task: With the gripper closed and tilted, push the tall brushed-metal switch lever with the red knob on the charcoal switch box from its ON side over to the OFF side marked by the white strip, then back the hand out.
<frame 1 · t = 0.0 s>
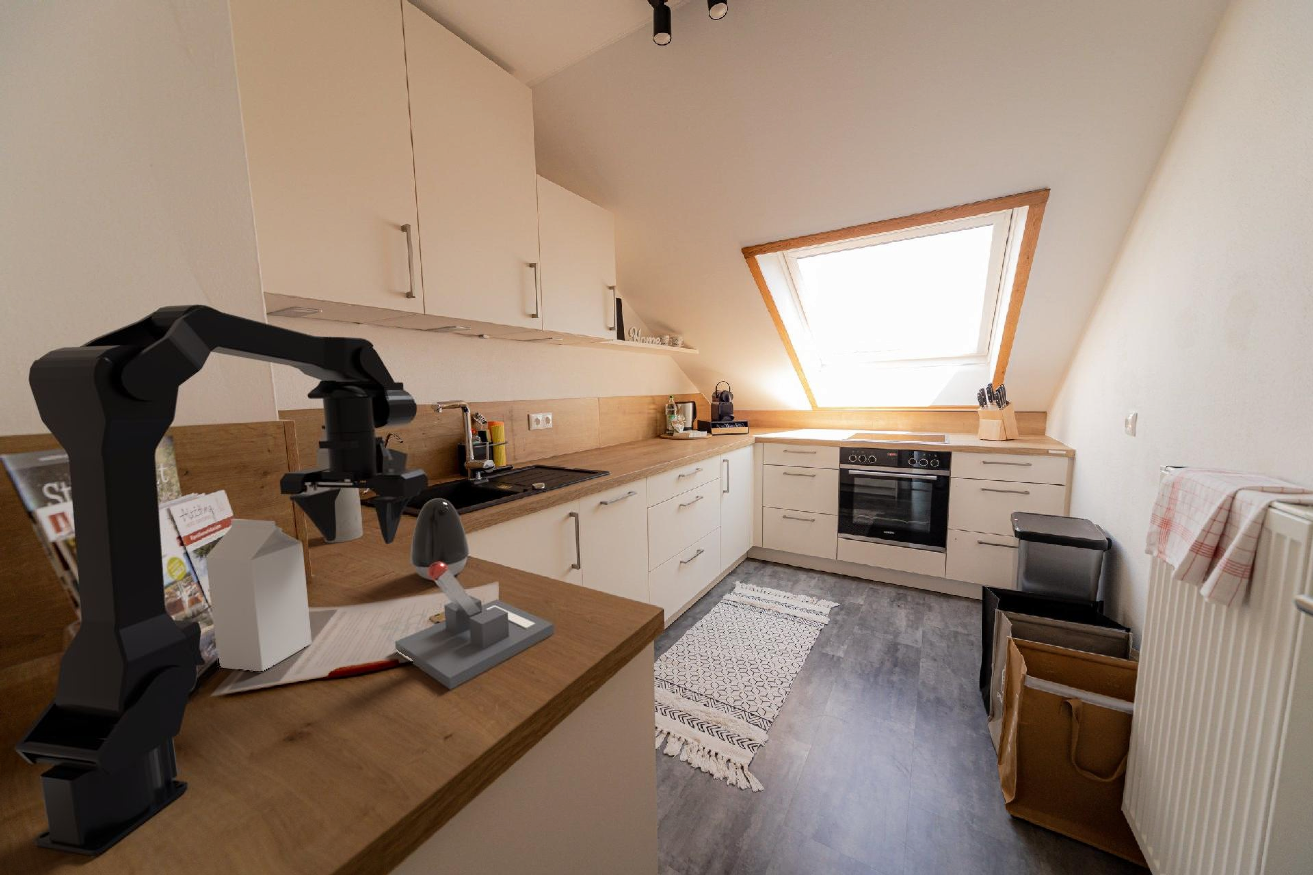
hand: (360, 541, 67), 15 cm above the table, tool pointing down, fingers open, 9 cm apart
switch box: (477, 642, 67), on the table
grey egg shaped device: (442, 576, 92), on the table
thermos bottle: (343, 538, 117), on the table
switch lever: (455, 592, 64), point 8 cm above the table, hinge at -30.0°
milk carton: (267, 657, 65), on the table
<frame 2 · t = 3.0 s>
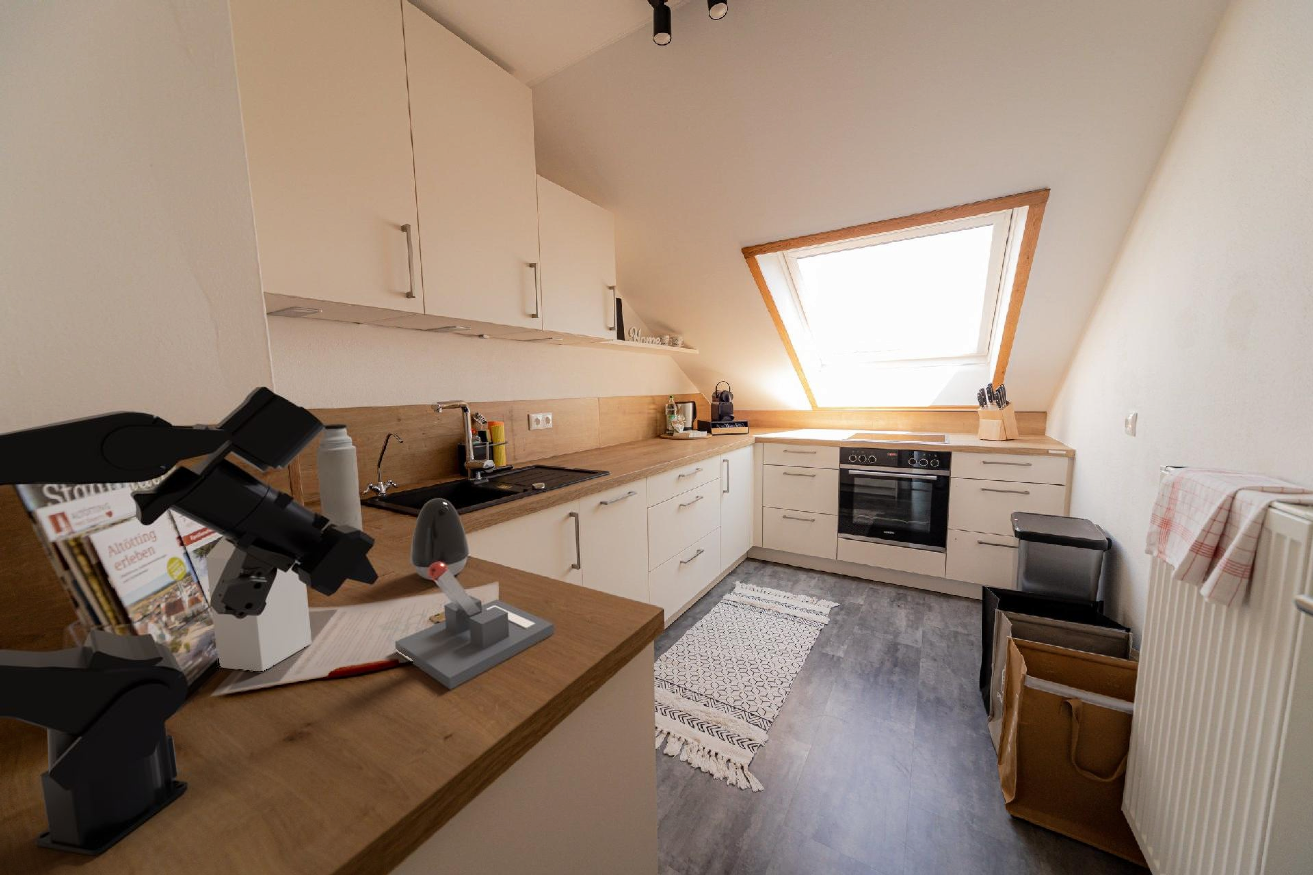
hand: (374, 580, 56), 14 cm above the table, tool tilted 45°, fingers closed
nothing on the table moved.
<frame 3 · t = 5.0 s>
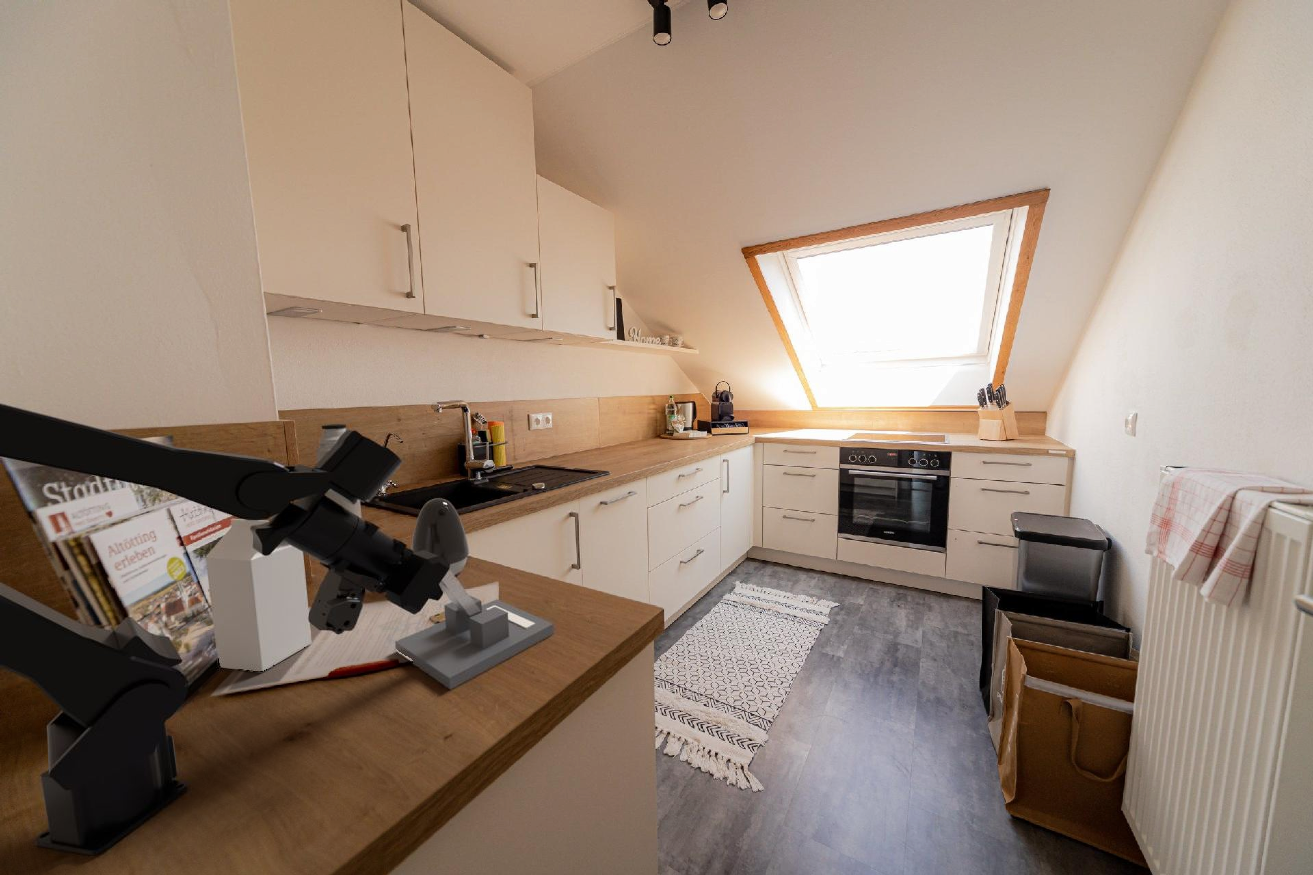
hand: (439, 596, 62), 9 cm above the table, tool tilted 45°, fingers closed, pressing on switch lever
switch lever: (455, 592, 64), point 8 cm above the table, hinge at -29.3°, touching gripper
everything else where it was.
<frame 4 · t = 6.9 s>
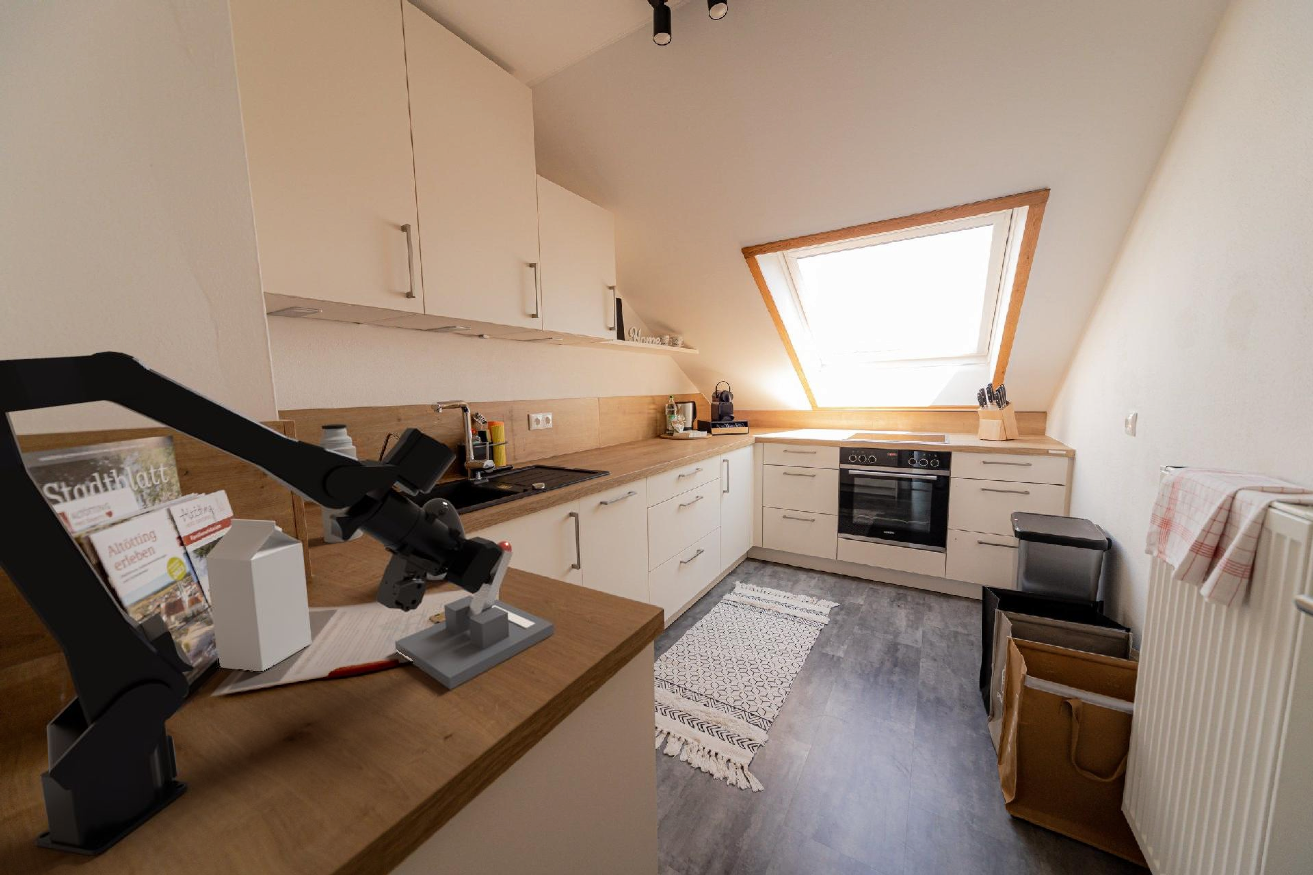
hand: (486, 580, 68), 9 cm above the table, tool tilted 45°, fingers closed, pressing on switch lever
switch lever: (491, 579, 69), point 8 cm above the table, hinge at 29.9°, touching gripper
everything else where it was.
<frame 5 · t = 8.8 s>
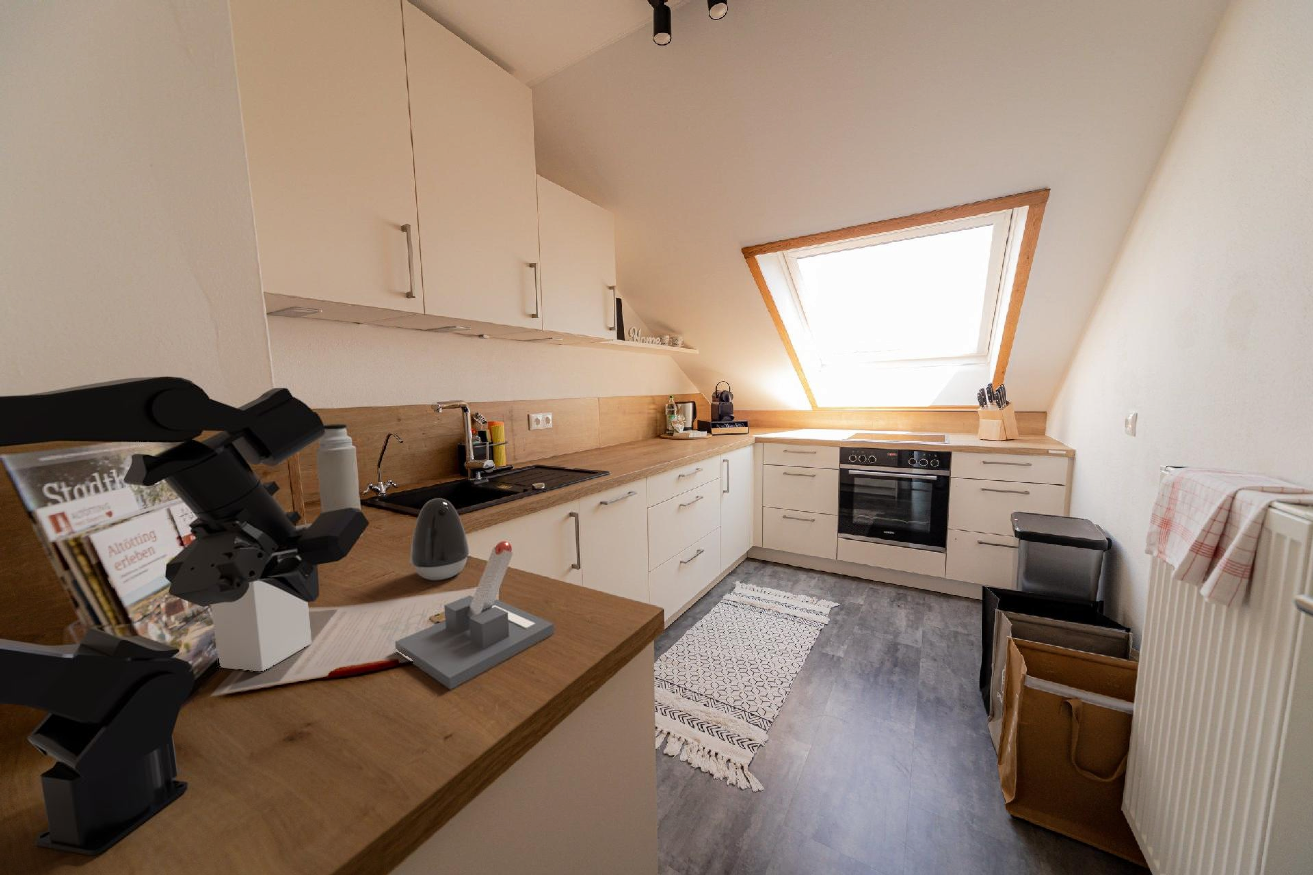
hand: (313, 598, 55), 12 cm above the table, tool tilted 25°, fingers closed
switch lever: (491, 579, 69), point 8 cm above the table, hinge at 29.9°
everything else where it was.
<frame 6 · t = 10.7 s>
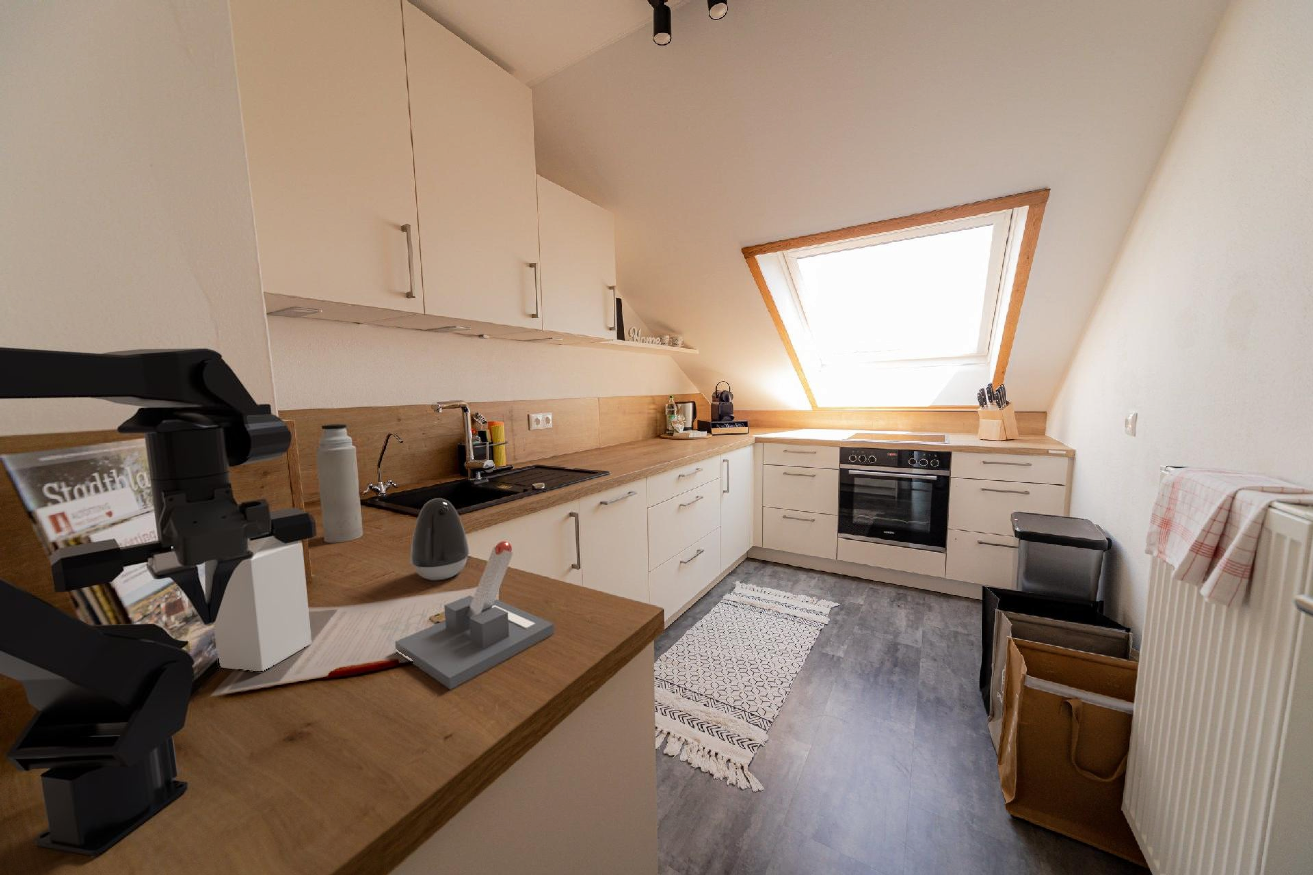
hand: (209, 622, 49), 12 cm above the table, tool pointing down, fingers closed
nothing on the table moved.
at the end: switch lever at +30° (first picture: -30°); milk carton moved 0.2 cm from its start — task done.
